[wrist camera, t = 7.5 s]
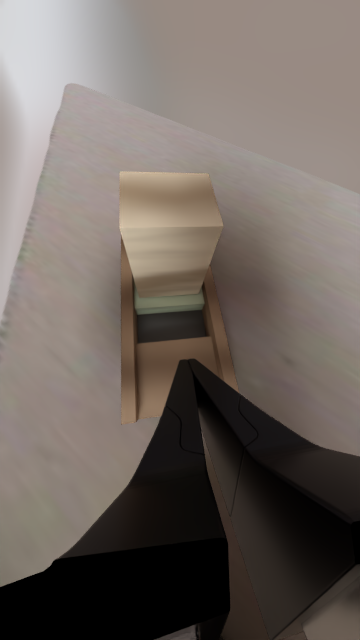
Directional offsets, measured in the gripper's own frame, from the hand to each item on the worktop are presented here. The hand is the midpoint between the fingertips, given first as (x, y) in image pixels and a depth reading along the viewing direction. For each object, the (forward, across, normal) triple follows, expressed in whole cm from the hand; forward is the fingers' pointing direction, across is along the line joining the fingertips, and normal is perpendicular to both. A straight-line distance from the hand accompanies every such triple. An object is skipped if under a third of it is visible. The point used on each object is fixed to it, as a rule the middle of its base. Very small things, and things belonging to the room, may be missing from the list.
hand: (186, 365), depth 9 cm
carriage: (+11, 0, -3) cm, 12 cm away
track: (+10, 0, +1) cm, 11 cm away
